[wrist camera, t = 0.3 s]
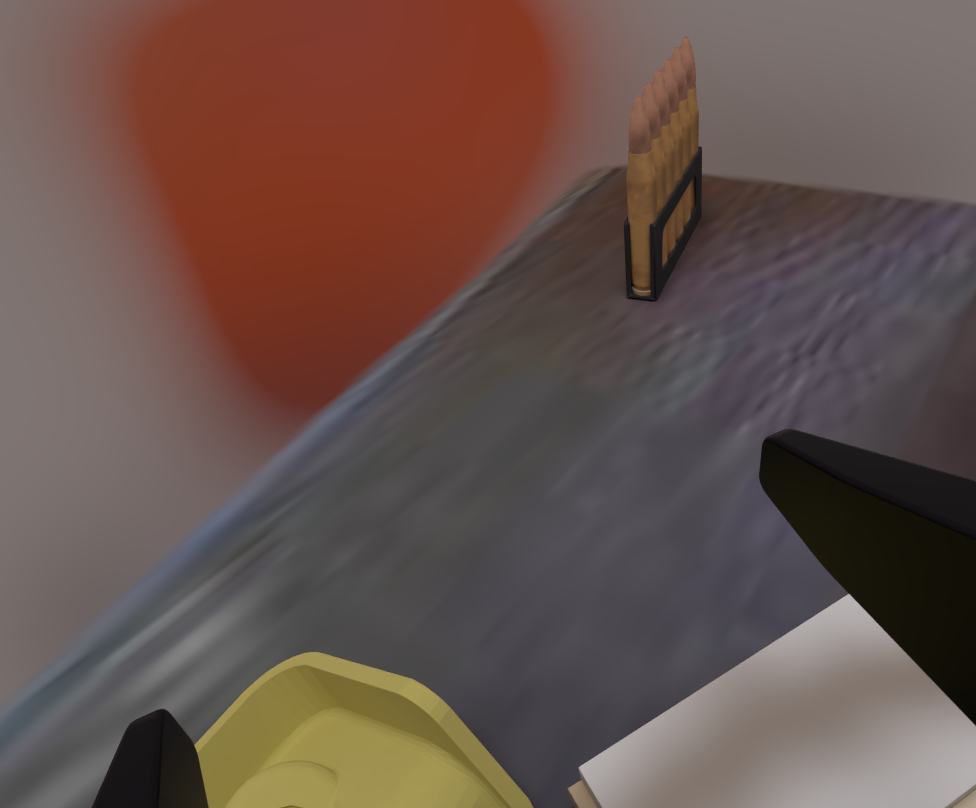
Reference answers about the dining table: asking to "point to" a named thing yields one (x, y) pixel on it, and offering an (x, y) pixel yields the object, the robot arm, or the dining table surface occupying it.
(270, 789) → the plastic component
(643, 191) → the ammunition clip
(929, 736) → the hinge base
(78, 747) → the dining table surface
